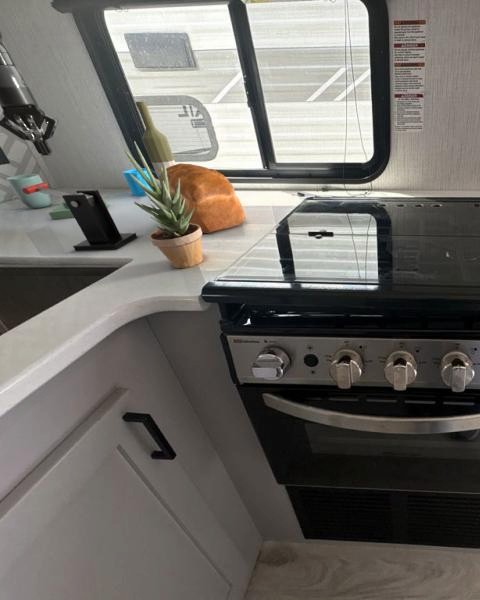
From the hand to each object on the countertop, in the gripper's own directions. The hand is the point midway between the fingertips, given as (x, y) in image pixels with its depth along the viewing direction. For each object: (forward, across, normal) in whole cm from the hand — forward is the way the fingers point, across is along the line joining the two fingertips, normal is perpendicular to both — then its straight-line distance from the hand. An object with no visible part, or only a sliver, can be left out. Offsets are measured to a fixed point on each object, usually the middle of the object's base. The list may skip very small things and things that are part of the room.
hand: (46, 155), depth 98 cm
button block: (+17, -1, 0) cm, 17 cm away
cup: (+18, +14, -15) cm, 27 cm away
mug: (+17, -17, -16) cm, 29 cm away
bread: (+17, -38, +31) cm, 52 cm away
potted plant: (+18, -35, +61) cm, 73 cm away
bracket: (+18, -16, +38) cm, 45 cm away
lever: (+6, -11, +36) cm, 39 cm away
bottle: (+17, -28, -4) cm, 33 cm away
